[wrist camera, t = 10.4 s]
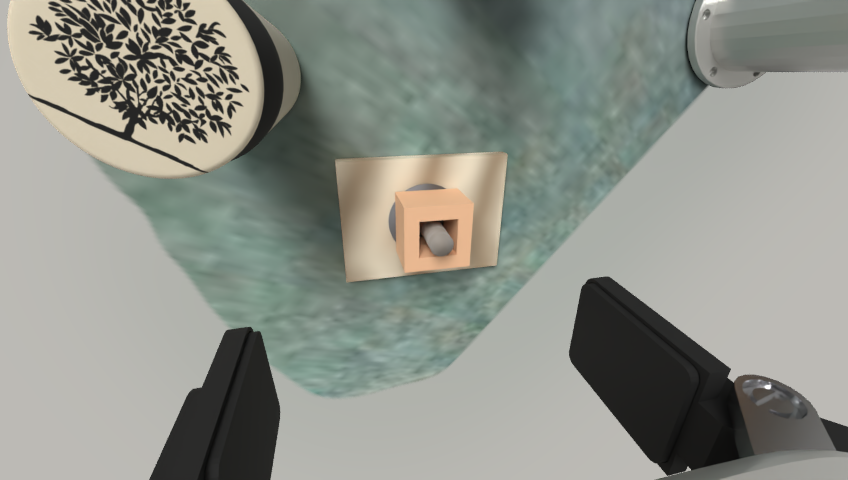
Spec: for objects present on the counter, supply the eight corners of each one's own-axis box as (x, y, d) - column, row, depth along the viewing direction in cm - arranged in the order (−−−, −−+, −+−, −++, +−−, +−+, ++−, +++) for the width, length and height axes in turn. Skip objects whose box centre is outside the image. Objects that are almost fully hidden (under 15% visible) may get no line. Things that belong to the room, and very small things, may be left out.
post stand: (502, 151, 36) (539, 169, 30) (492, 260, 41) (522, 295, 35) (334, 159, 33) (336, 180, 26) (346, 276, 38) (349, 318, 31)
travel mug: (223, -16, 26) (59, -150, 10) (320, 64, 29) (312, 57, 14) (168, 79, 28) (-51, 91, 12) (267, 145, 31) (202, 223, 15)
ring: (457, 188, 35) (474, 203, 31) (454, 245, 38) (469, 266, 34) (395, 191, 34) (403, 208, 30) (396, 250, 36) (404, 272, 32)
